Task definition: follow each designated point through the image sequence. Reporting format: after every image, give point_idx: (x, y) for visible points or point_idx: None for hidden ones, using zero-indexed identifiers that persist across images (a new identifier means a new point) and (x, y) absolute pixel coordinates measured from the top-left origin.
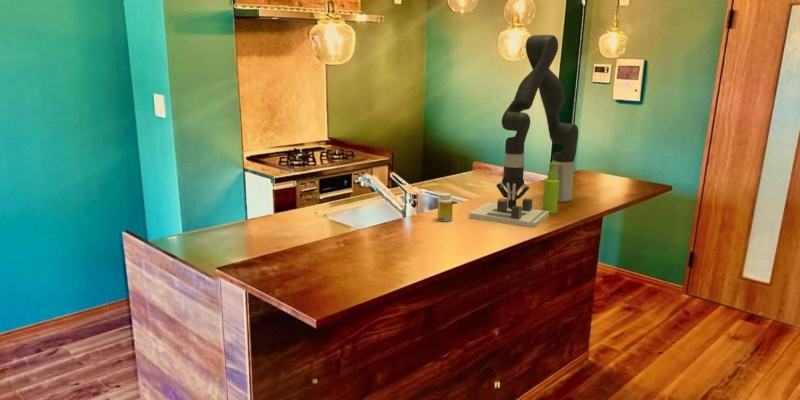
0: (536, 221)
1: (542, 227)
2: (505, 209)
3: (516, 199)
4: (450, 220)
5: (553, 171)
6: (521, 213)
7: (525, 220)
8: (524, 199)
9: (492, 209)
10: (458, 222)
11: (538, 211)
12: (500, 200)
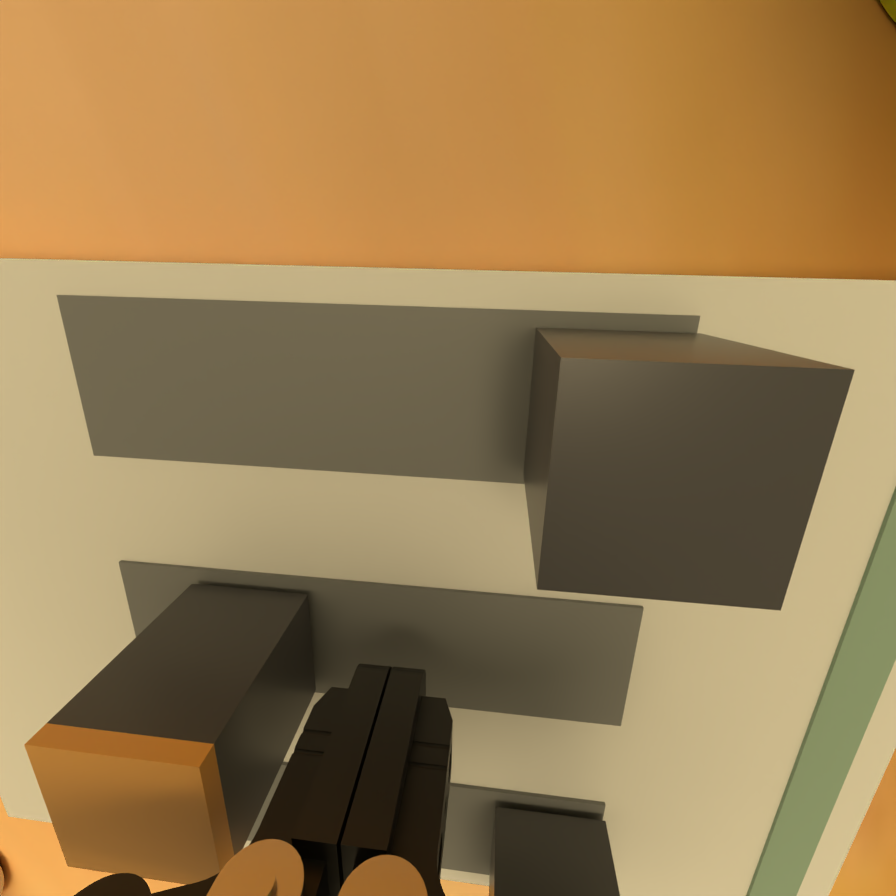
0: (829, 891)
1: (867, 819)
2: (303, 679)
3: (439, 884)
4: (3, 881)
5: None
6: (615, 875)
7: (680, 891)
8: (579, 534)
9: (111, 604)
10: (78, 881)
11: (847, 414)
12: (132, 870)
